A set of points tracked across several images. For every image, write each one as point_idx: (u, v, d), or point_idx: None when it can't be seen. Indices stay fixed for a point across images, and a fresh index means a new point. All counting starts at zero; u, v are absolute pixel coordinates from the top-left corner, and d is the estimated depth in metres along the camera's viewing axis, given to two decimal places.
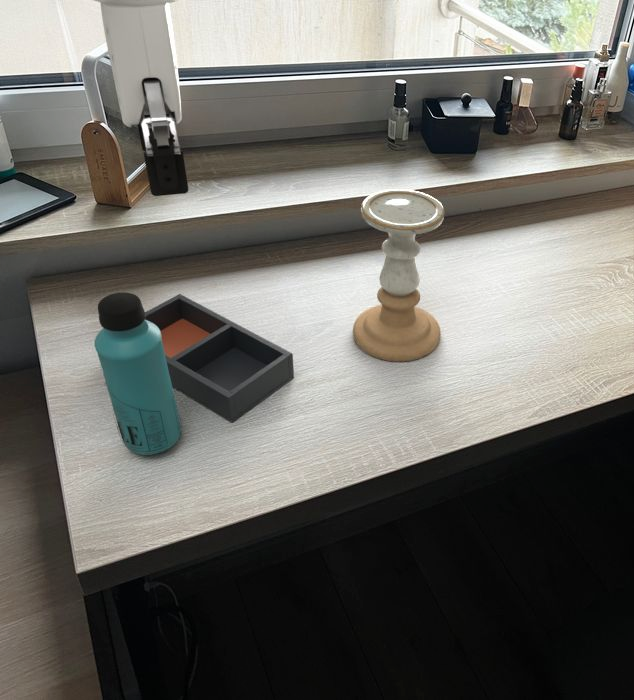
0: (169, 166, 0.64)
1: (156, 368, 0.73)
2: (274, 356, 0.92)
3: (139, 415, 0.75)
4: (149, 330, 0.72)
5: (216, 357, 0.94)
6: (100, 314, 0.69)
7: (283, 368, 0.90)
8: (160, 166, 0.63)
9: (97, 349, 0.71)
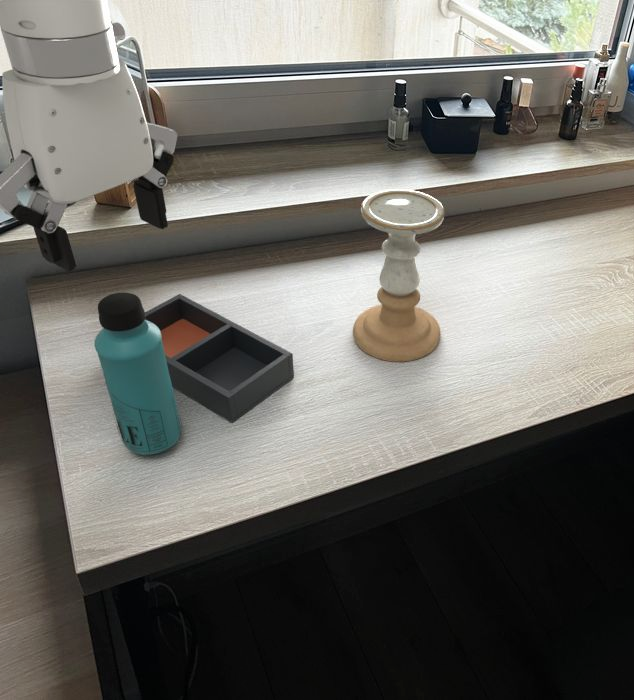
0: (44, 239, 0.60)
1: (156, 368, 0.73)
2: (274, 356, 0.92)
3: (139, 415, 0.75)
4: (149, 330, 0.72)
5: (216, 357, 0.94)
6: (100, 314, 0.69)
7: (283, 368, 0.90)
8: (38, 236, 0.60)
9: (97, 349, 0.71)
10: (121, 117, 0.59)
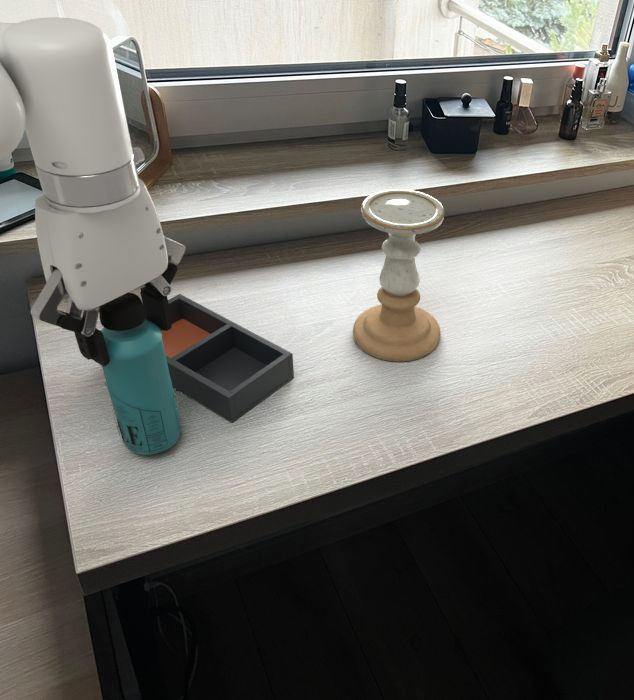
0: (83, 340, 0.68)
1: (156, 367, 0.73)
2: (274, 356, 0.92)
3: (139, 415, 0.75)
4: (150, 330, 0.72)
5: (216, 357, 0.94)
6: (101, 314, 0.69)
7: (283, 368, 0.90)
8: (77, 337, 0.68)
9: None
10: (140, 231, 0.66)
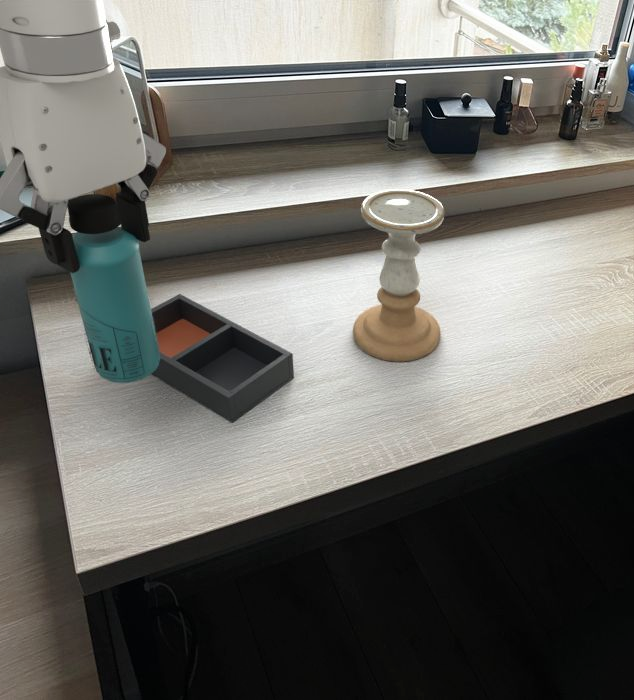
0: (49, 241, 0.61)
1: (132, 281, 0.67)
2: (274, 356, 0.92)
3: (113, 335, 0.68)
4: (125, 238, 0.66)
5: (216, 357, 0.94)
6: (70, 214, 0.62)
7: (283, 368, 0.90)
8: (43, 238, 0.61)
9: None
10: (114, 116, 0.59)
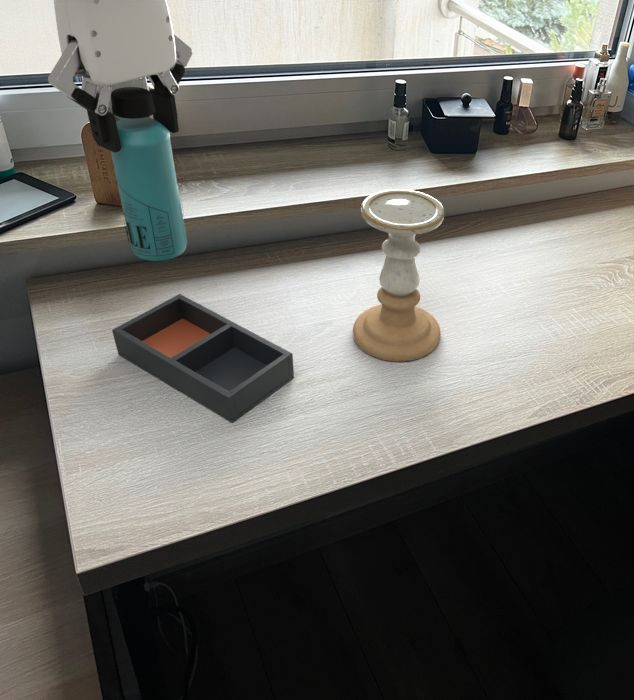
0: (96, 122, 0.72)
1: (165, 164, 0.77)
2: (274, 356, 0.92)
3: (148, 214, 0.79)
4: (158, 126, 0.76)
5: (216, 357, 0.94)
6: (113, 101, 0.73)
7: (283, 368, 0.90)
8: (91, 120, 0.72)
9: None
10: (151, 13, 0.70)
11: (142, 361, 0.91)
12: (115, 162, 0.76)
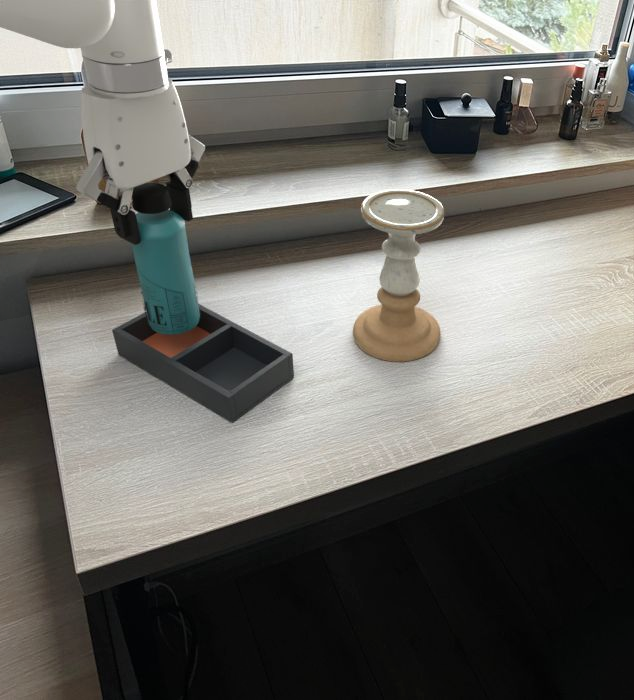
0: (118, 219, 0.79)
1: (180, 251, 0.84)
2: (274, 356, 0.92)
3: (165, 295, 0.86)
4: (174, 217, 0.83)
5: (216, 357, 0.94)
6: (133, 198, 0.80)
7: (283, 368, 0.90)
8: (113, 217, 0.79)
9: None
10: (168, 122, 0.76)
11: (142, 361, 0.91)
12: (135, 251, 0.83)
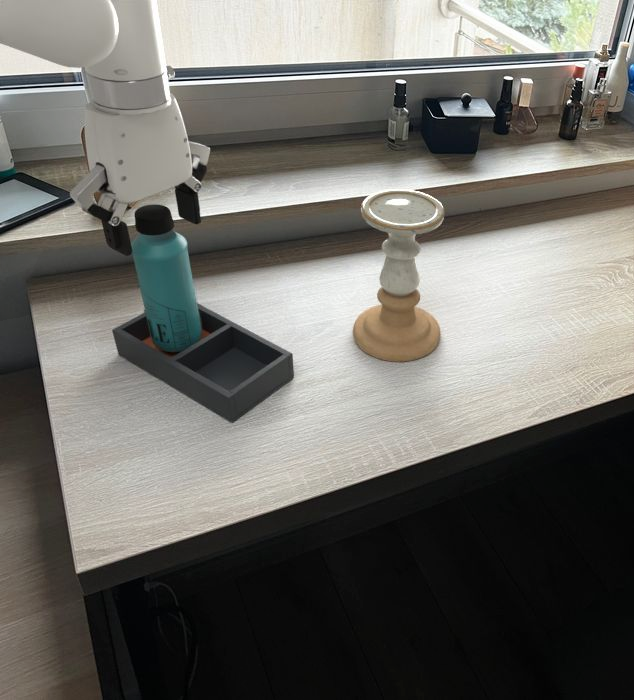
0: (109, 231, 0.78)
1: (182, 271, 0.86)
2: (274, 356, 0.92)
3: (167, 314, 0.88)
4: (177, 238, 0.85)
5: (216, 357, 0.94)
6: (136, 220, 0.81)
7: (283, 368, 0.90)
8: (105, 228, 0.78)
9: (133, 252, 0.83)
10: (170, 137, 0.77)
11: (142, 361, 0.91)
12: (138, 271, 0.85)
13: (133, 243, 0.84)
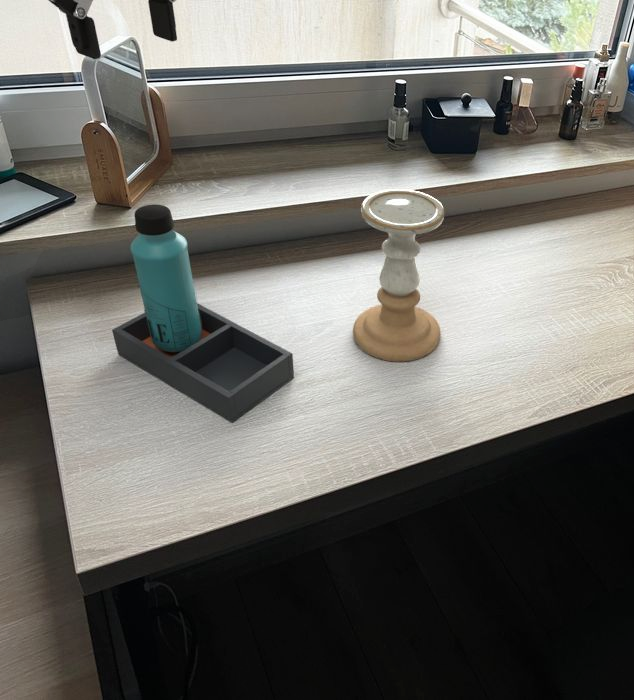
0: (75, 27, 0.72)
1: (182, 271, 0.86)
2: (274, 356, 0.92)
3: (167, 314, 0.88)
4: (177, 238, 0.85)
5: (216, 357, 0.94)
6: (137, 220, 0.81)
7: (283, 368, 0.90)
8: (70, 25, 0.73)
9: (133, 252, 0.83)
10: None
11: (142, 361, 0.91)
12: (138, 271, 0.85)
13: (133, 243, 0.84)
